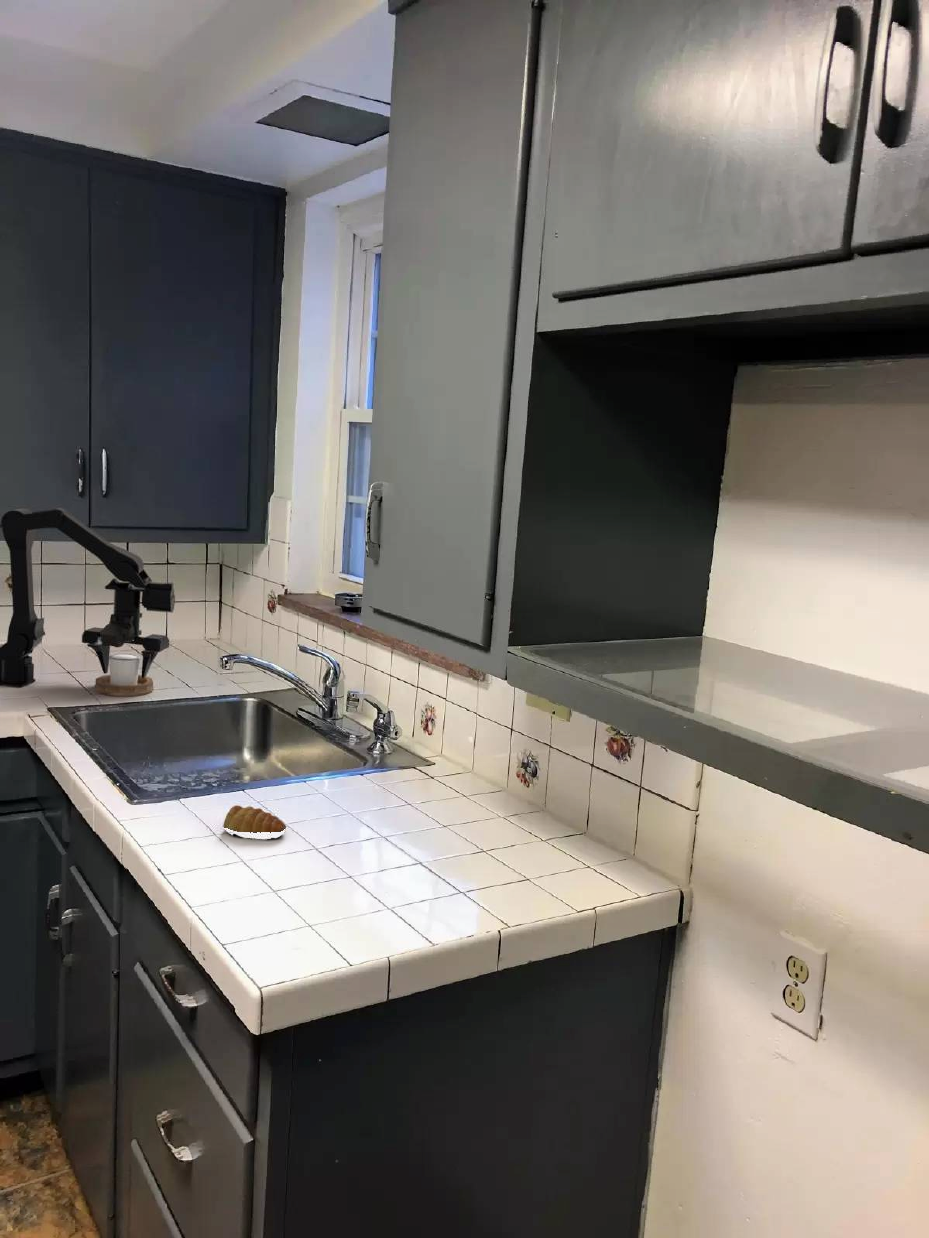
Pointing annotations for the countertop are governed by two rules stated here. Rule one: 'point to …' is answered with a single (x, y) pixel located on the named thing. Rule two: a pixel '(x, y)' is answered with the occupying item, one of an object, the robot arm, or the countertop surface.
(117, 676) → the white canister
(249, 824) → the pastry
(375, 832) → the countertop surface
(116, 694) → the round wooden tray
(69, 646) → the countertop surface
